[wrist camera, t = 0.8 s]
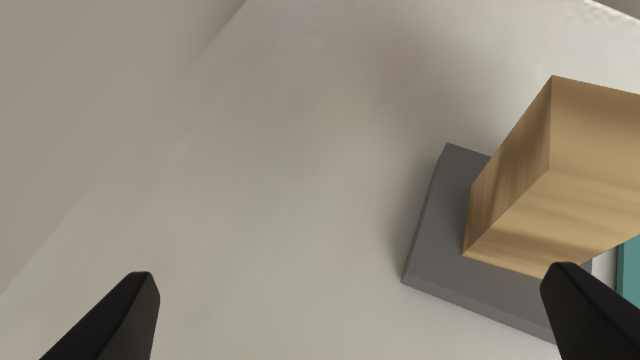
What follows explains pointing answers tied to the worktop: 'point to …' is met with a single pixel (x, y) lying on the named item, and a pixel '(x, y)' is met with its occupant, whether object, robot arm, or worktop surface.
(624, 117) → the oak block
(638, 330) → the robot arm
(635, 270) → the teal mat
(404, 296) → the worktop surface
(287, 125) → the worktop surface
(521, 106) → the worktop surface
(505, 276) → the charcoal board
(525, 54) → the worktop surface
